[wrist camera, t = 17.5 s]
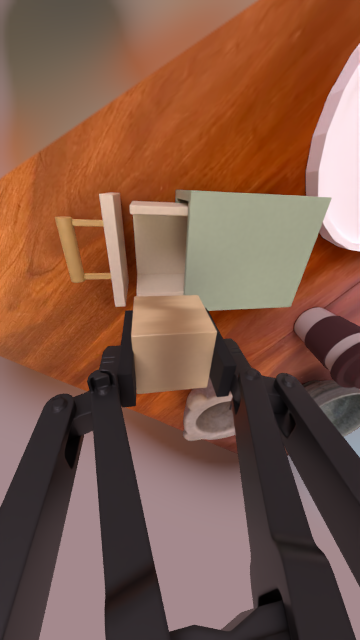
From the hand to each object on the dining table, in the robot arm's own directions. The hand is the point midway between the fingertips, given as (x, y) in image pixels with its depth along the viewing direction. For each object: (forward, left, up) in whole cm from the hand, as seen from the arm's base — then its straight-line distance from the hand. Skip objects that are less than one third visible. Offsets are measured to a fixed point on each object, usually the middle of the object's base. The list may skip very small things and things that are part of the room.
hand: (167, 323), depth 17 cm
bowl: (+42, -37, -18) cm, 59 cm away
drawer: (-1, +3, -16) cm, 17 cm away
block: (0, 0, 0) cm, 0 cm away
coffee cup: (+32, -13, -18) cm, 39 cm away
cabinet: (+10, +3, -17) cm, 20 cm away
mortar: (+13, -31, -18) cm, 37 cm away
